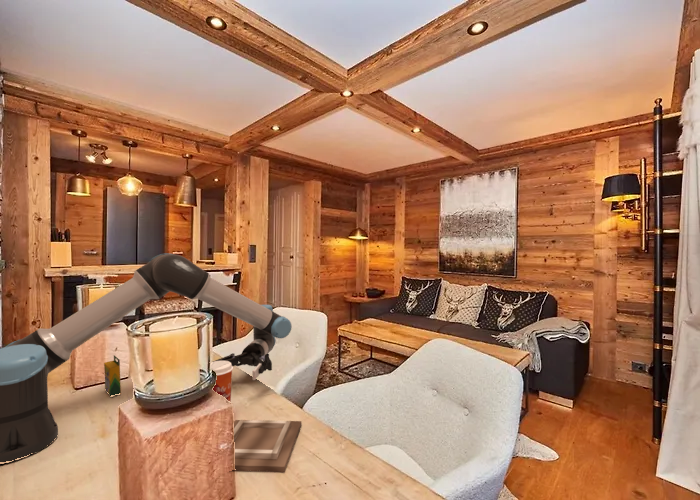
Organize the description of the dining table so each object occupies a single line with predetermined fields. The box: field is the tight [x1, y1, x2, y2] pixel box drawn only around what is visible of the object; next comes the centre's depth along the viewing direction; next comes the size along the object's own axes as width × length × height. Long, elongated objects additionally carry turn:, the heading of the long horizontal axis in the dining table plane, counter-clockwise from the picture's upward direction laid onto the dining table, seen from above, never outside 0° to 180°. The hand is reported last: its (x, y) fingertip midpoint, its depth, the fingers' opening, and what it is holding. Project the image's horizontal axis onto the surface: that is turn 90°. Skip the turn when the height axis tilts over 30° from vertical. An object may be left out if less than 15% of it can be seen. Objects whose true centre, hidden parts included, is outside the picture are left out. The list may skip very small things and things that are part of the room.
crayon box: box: [103, 354, 122, 397], centre depth 109 cm, size 7×3×12 cm, turn 48°
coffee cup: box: [211, 360, 234, 402], centre depth 93 cm, size 8×8×15 cm
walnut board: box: [233, 419, 302, 473], centre depth 80 cm, size 18×18×2 cm
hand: (231, 375), depth 102 cm, fingers open, 13 cm apart
